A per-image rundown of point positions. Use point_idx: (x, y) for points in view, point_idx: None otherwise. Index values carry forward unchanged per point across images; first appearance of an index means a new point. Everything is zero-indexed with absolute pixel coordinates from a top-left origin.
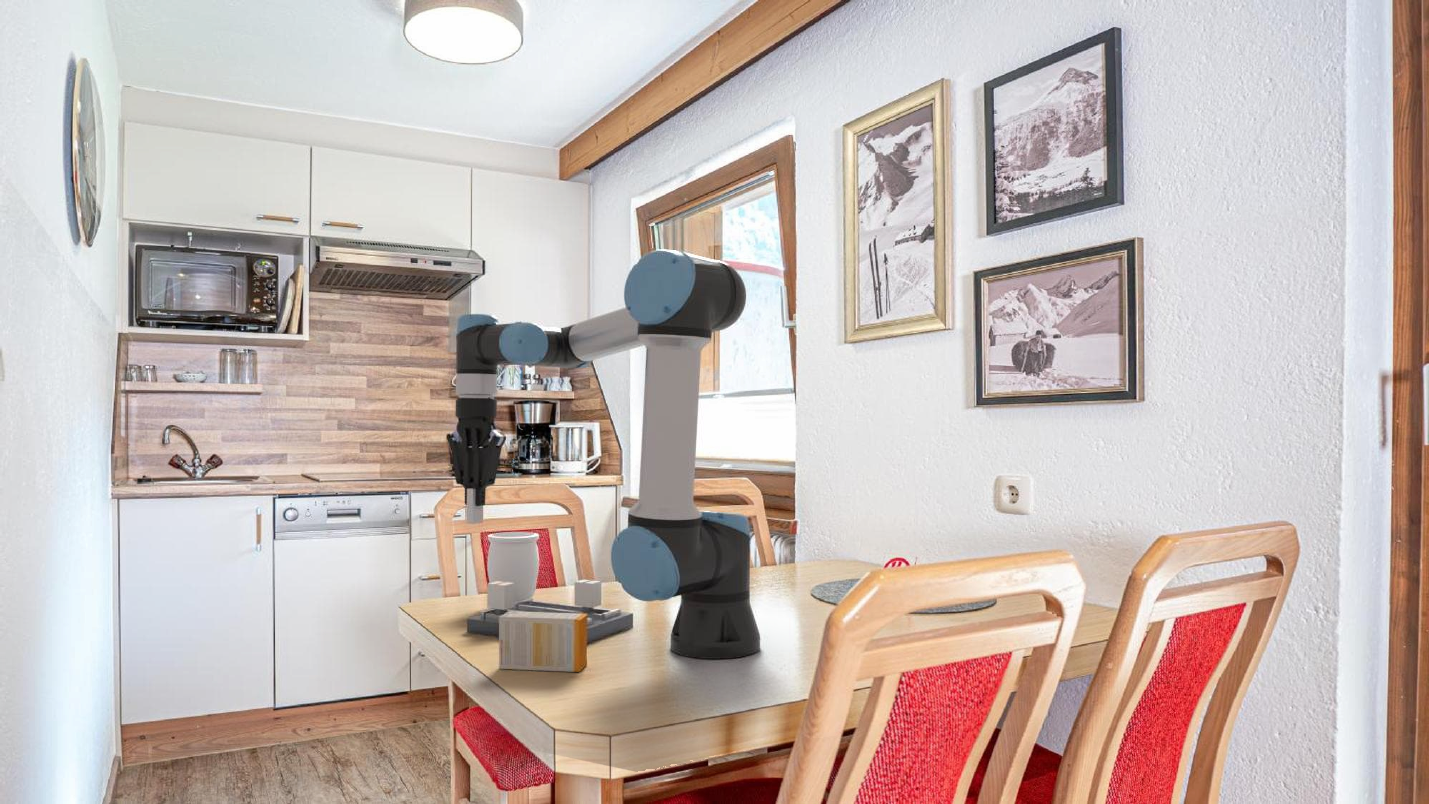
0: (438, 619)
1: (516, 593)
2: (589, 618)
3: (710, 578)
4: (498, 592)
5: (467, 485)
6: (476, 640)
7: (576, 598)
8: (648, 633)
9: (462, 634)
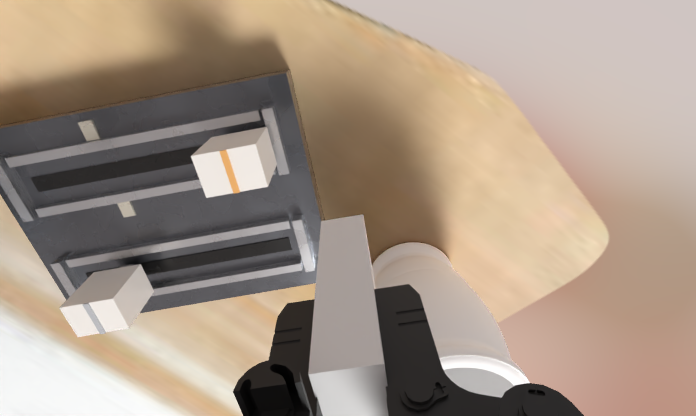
0: (458, 114)
1: (375, 280)
2: (26, 217)
3: None
4: (218, 145)
5: (390, 395)
6: (202, 31)
7: (127, 274)
8: (29, 289)
9: (282, 50)
